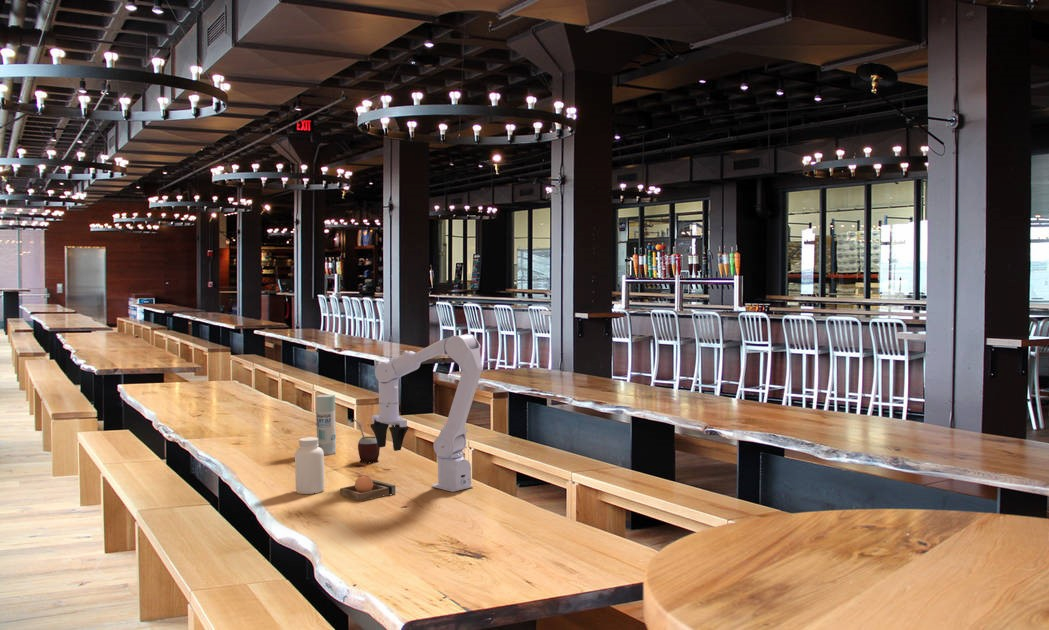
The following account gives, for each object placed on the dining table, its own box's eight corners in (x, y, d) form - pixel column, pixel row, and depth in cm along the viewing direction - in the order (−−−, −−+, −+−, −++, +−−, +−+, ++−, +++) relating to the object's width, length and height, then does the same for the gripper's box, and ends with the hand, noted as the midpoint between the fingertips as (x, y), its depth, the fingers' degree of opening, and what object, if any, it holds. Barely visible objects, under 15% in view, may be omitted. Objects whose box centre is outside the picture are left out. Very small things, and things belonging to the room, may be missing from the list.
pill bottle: (289, 493, 244) (288, 440, 243) (306, 486, 251) (305, 435, 250) (314, 495, 241) (312, 442, 240) (330, 489, 248) (329, 436, 248)
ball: (377, 492, 241) (376, 474, 241) (362, 496, 237) (361, 478, 237) (366, 490, 244) (365, 473, 244) (351, 494, 241) (350, 476, 240)
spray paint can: (339, 451, 302) (338, 394, 301) (331, 455, 296) (330, 397, 295) (321, 451, 303) (320, 394, 303) (313, 455, 297) (312, 396, 296)
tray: (389, 494, 241) (389, 487, 241) (360, 501, 234) (360, 494, 234) (368, 489, 247) (368, 482, 247) (340, 495, 241) (340, 488, 240)
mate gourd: (382, 459, 288) (381, 414, 287) (376, 465, 280) (375, 418, 279) (360, 459, 289) (359, 414, 288) (353, 464, 281) (352, 418, 280)
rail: (395, 494, 241) (395, 485, 241) (391, 495, 240) (391, 486, 240) (370, 487, 250) (369, 478, 250) (366, 488, 249) (366, 479, 249)
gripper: (363, 401, 257) (363, 447, 258) (392, 406, 247) (393, 454, 248) (382, 399, 262) (383, 444, 263) (412, 403, 252) (413, 450, 253)
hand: (389, 448), depth 256 cm, fingers open, 7 cm apart
